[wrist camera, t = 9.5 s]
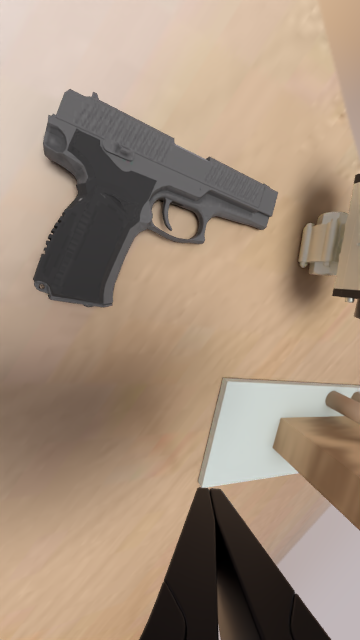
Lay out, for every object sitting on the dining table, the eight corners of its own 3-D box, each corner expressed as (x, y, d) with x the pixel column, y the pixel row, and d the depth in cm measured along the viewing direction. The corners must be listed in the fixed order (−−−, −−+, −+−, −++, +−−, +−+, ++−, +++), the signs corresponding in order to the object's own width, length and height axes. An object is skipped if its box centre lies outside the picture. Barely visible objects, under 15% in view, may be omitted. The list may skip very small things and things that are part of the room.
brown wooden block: (272, 447, 26) (360, 530, 18) (280, 417, 25) (374, 488, 17) (348, 440, 31) (444, 502, 23) (356, 415, 30) (457, 469, 22)
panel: (198, 481, 24) (223, 529, 20) (223, 377, 23) (256, 403, 18) (344, 460, 33) (384, 490, 29) (369, 385, 32) (414, 404, 27)
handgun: (249, 332, 20) (288, 183, 19) (22, 302, 13) (50, 51, 11) (227, 323, 23) (259, 193, 21) (30, 294, 16) (53, 94, 14)
